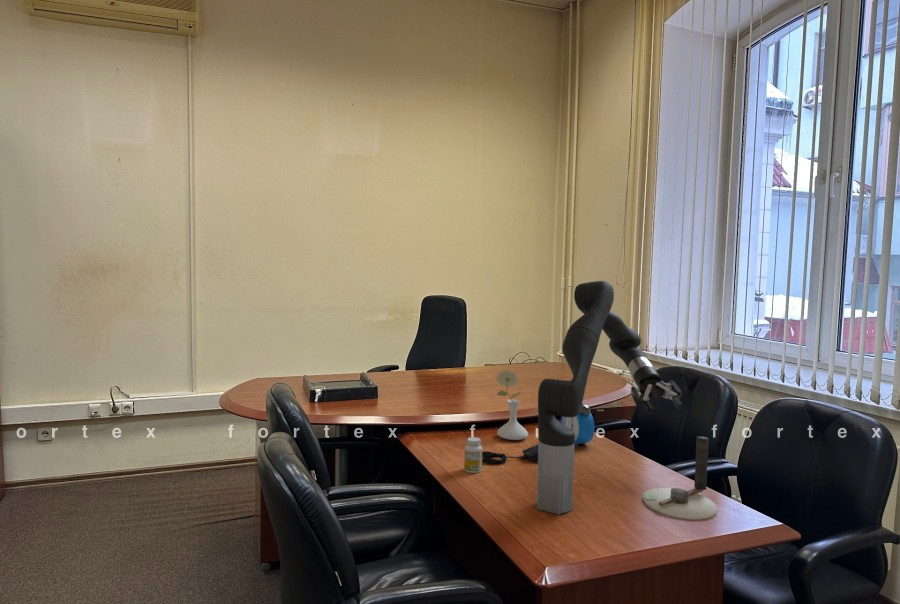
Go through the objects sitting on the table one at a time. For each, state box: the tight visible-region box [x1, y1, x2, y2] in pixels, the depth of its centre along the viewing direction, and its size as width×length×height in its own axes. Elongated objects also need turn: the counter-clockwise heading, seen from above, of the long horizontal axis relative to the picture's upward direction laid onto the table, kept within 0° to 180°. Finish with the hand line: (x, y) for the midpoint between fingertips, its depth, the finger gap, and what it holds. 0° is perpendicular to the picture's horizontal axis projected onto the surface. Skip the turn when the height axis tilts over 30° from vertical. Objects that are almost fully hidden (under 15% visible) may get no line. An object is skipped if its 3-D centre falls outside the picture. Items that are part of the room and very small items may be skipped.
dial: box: [659, 436, 710, 506], centre depth 149 cm, size 20×4×15 cm, turn 125°
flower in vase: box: [496, 369, 529, 441], centre depth 205 cm, size 13×11×25 cm
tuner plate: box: [642, 487, 718, 521], centre depth 148 cm, size 18×18×1 cm
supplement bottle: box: [463, 436, 483, 474], centre depth 171 cm, size 5×5×10 cm
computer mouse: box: [482, 444, 538, 466], centre depth 182 cm, size 10×32×6 cm, turn 103°
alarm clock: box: [560, 403, 595, 447], centre depth 200 cm, size 13×6×15 cm, turn 20°
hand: (665, 409), depth 167 cm, fingers open, 8 cm apart
